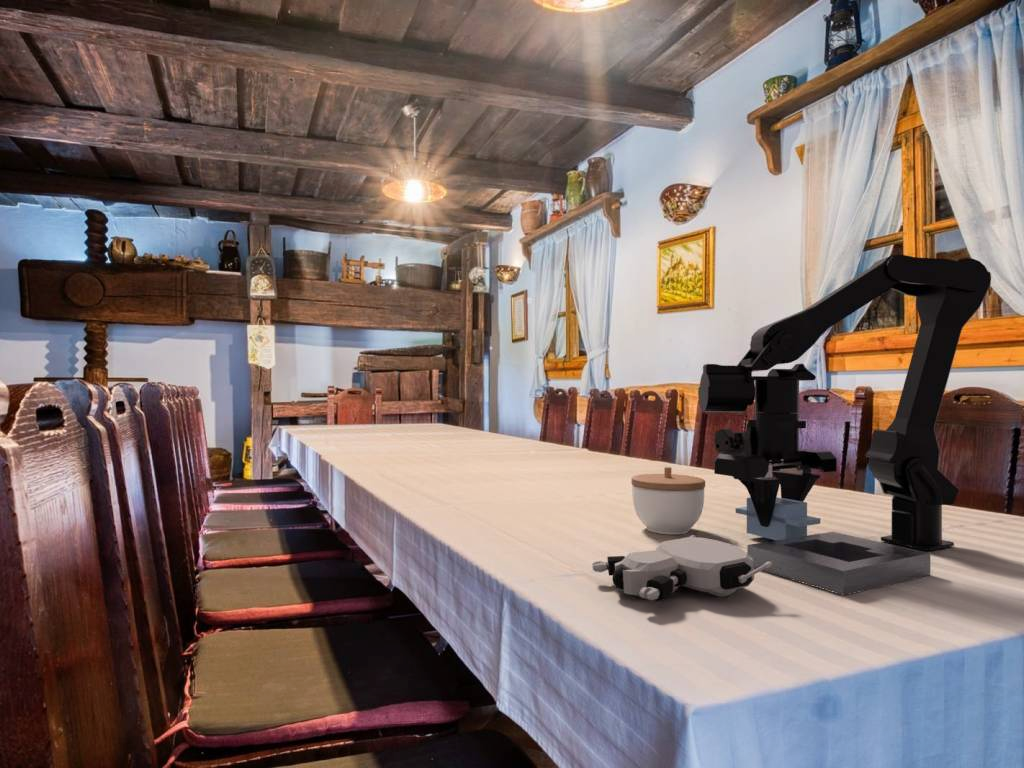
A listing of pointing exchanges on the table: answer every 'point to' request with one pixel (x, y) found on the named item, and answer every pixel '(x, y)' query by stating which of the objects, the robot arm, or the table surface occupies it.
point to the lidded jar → (668, 501)
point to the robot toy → (682, 568)
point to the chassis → (840, 561)
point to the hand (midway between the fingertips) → (776, 524)
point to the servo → (780, 520)
